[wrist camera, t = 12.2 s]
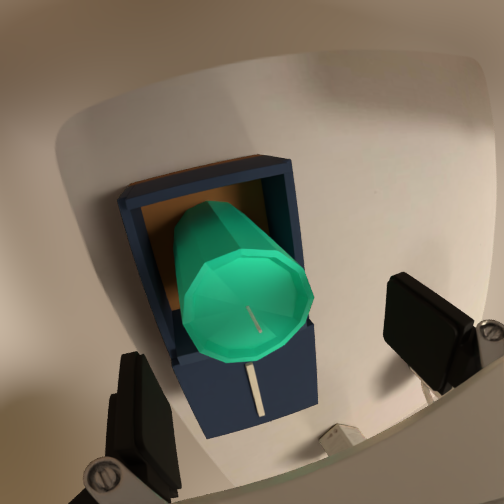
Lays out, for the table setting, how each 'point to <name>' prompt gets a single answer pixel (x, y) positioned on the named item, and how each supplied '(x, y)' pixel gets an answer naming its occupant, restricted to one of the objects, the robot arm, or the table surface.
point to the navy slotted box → (167, 299)
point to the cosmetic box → (341, 439)
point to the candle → (236, 285)
